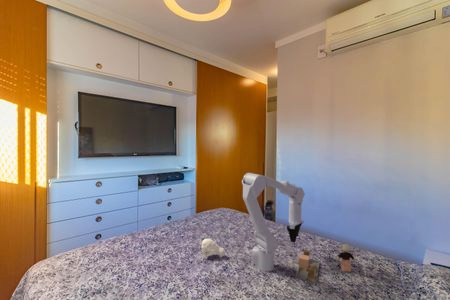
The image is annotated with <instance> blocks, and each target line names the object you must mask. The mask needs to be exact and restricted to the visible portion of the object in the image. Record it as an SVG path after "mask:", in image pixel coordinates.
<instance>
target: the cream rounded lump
mask: <svg viewBox="0 0 450 300" xmlns="http://www.w3.org/2000/svg"><path fill="white" fill-rule="evenodd" d="M201 253H202V255H203V257H204V259H206V260H207V259H208V257H211V256H215V255H217V256H219V258H220V259H221V258H223V257H224V256H225V255H226V249H225V248H223V247H221V246H219V245H218V243H216V242H215V241H214V240H213V239H211V238H204V239H203V240H202V242H201Z"/></svg>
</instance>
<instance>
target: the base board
mask: <svg viewBox="0 0 450 300" xmlns="http://www.w3.org/2000/svg"><path fill="white" fill-rule="evenodd" d="M310 264H312V265H316V266H317V271H316V277H315V282H312V281H308V280H307V276H308V269H307V272H304V271H300V267H299V266H298V267H297V268H298V269H297V271H296V274H295V278H296V279H299V280H303V281H306V282H309V283H313V284H317V281H318V276H319V270H320V269H319V268H320V264H321V261H314V260H312V259H311V258H310V260H309V268H310Z"/></svg>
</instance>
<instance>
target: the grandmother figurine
mask: <svg viewBox="0 0 450 300" xmlns="http://www.w3.org/2000/svg"><path fill="white" fill-rule="evenodd" d="M341 249H342V252H339V253H338V254H337V256H336V261H339V260H340V259H341V271H342V272H344V273H346V272H347V273H351V272H352V263H351V260H352V262H353V263H356V260H355V257H354V255H353V254H352V253H351V252H350V250H351V247H350V245H349V243H343V244H342V245H341Z"/></svg>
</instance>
